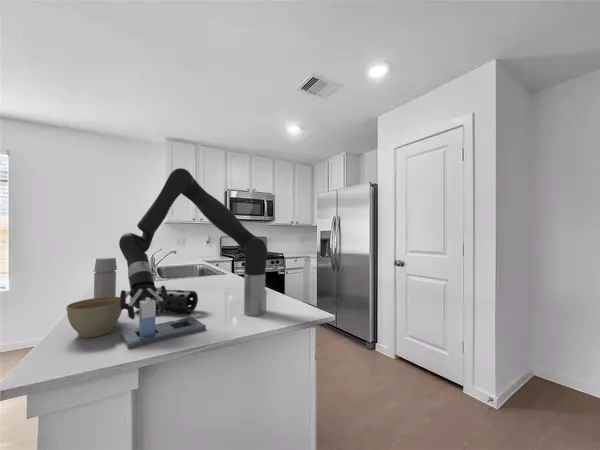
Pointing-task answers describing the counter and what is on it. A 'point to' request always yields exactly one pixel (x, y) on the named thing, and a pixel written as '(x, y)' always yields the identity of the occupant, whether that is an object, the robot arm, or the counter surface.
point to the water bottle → (105, 277)
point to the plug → (147, 317)
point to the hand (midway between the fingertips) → (147, 315)
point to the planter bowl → (94, 315)
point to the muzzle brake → (177, 301)
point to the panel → (163, 332)
